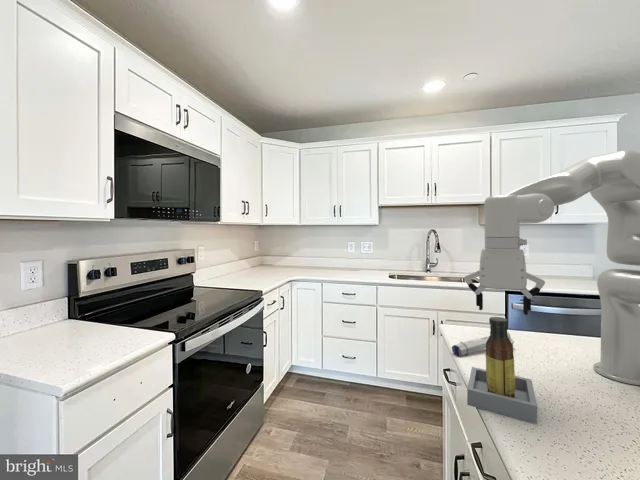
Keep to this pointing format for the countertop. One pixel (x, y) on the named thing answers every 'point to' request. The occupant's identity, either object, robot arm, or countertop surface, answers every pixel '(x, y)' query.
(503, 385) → the sauce bottle
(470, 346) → the electric cleaning brush
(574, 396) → the countertop surface
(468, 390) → the dock
